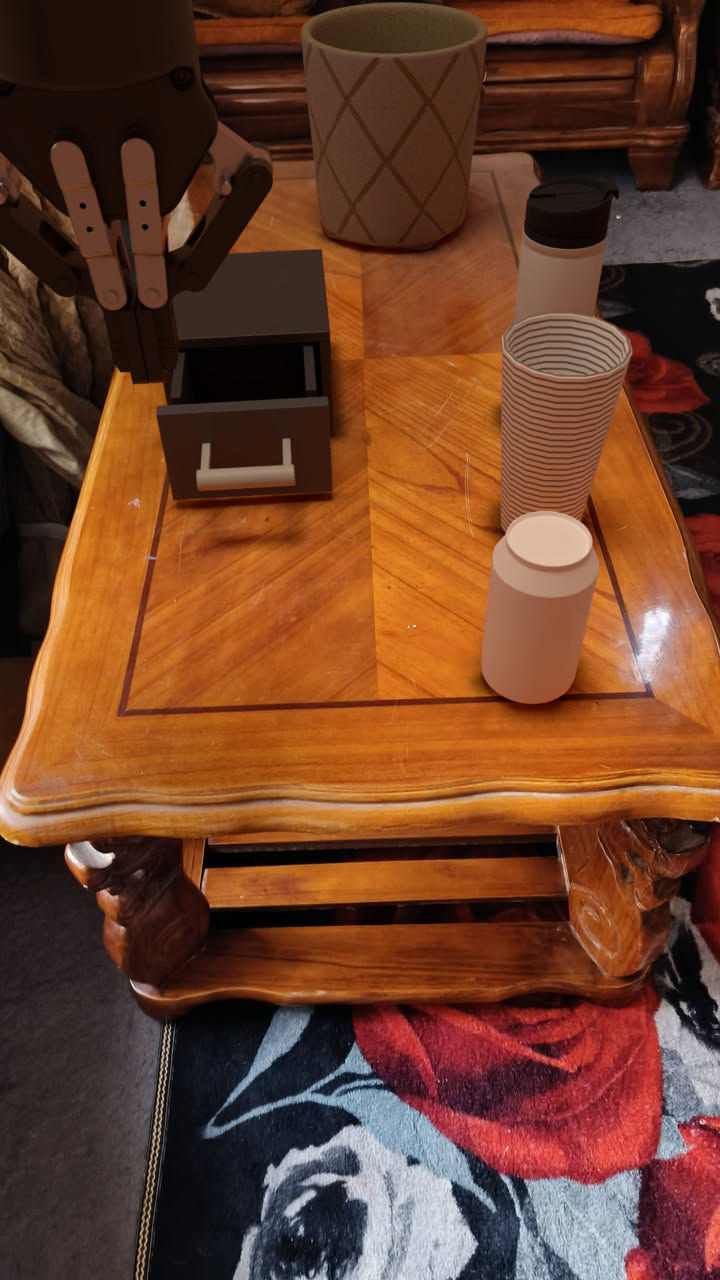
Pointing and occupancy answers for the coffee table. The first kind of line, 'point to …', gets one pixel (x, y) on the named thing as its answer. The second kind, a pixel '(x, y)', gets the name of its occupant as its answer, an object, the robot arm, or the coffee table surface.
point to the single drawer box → (261, 309)
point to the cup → (556, 409)
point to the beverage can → (538, 606)
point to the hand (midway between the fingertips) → (151, 374)
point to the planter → (393, 119)
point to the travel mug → (563, 246)
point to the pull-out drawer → (246, 423)
